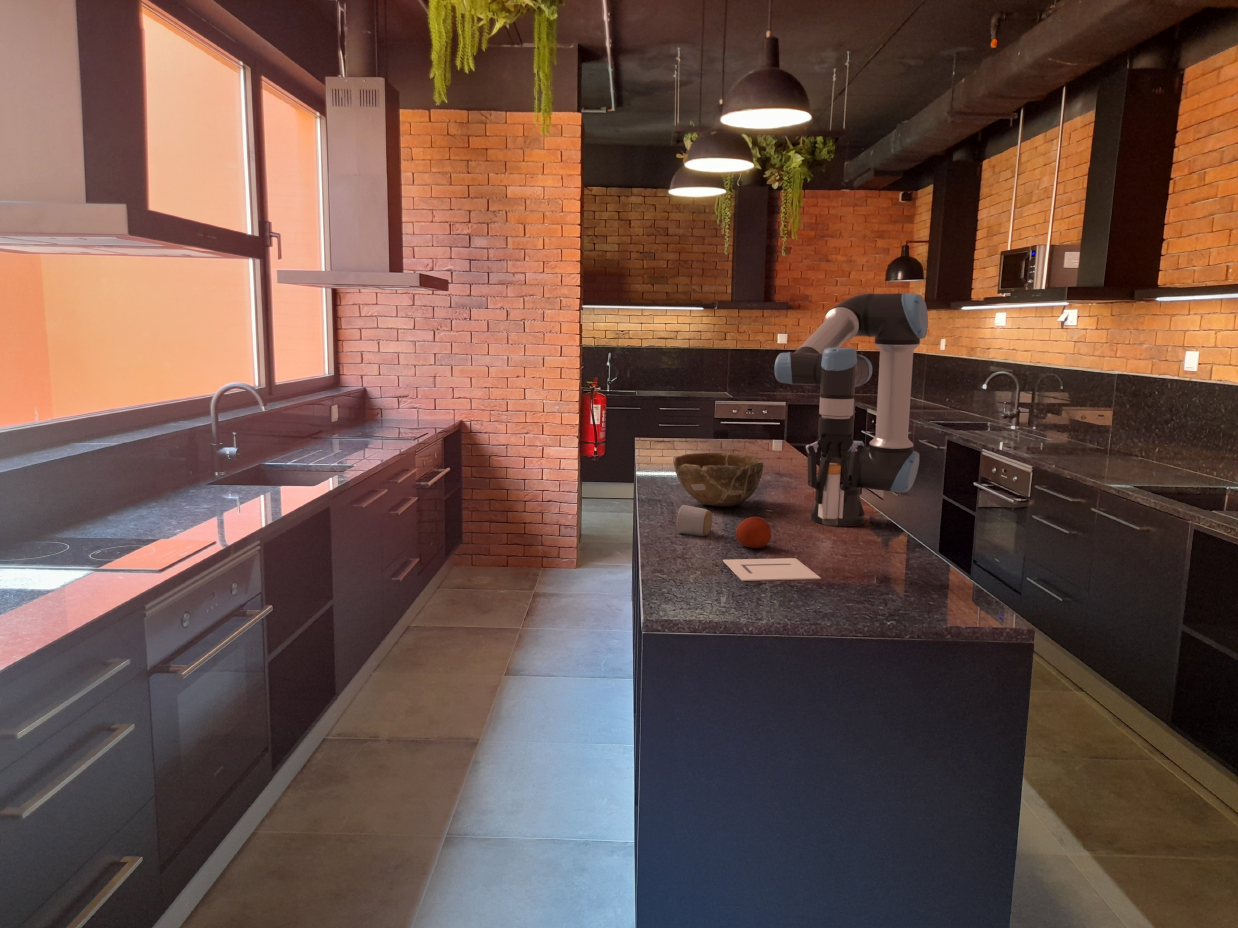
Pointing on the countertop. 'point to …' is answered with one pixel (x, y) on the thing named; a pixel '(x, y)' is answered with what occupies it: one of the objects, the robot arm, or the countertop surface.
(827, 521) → the marker
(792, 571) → the paper
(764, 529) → the fruit
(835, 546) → the countertop surface
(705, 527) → the ceramic mug
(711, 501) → the bowl
